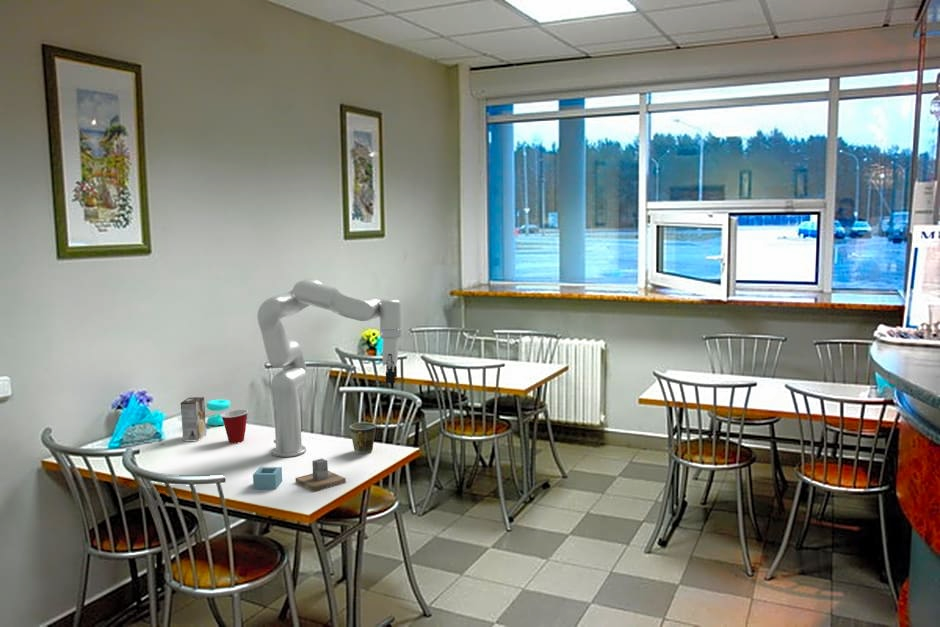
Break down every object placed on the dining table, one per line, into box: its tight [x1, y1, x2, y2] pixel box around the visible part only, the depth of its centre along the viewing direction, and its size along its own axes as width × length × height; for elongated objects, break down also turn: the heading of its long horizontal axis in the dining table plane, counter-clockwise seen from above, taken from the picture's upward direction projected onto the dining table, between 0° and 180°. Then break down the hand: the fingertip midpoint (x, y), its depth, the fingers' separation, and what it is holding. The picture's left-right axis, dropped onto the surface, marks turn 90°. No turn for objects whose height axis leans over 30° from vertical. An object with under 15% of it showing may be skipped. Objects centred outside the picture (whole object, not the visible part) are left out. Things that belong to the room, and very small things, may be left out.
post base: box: [295, 458, 347, 492], centre depth 252 cm, size 12×12×8 cm
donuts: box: [205, 398, 231, 427], centre depth 326 cm, size 10×10×10 cm
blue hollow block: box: [252, 466, 283, 490], centre depth 250 cm, size 7×7×5 cm
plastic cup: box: [220, 409, 249, 444], centre depth 299 cm, size 11×11×12 cm
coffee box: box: [180, 396, 207, 441], centre depth 304 cm, size 9×6×16 cm
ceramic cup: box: [349, 421, 377, 455], centre depth 283 cm, size 13×10×10 cm
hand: (391, 379), depth 273 cm, fingers open, 9 cm apart
